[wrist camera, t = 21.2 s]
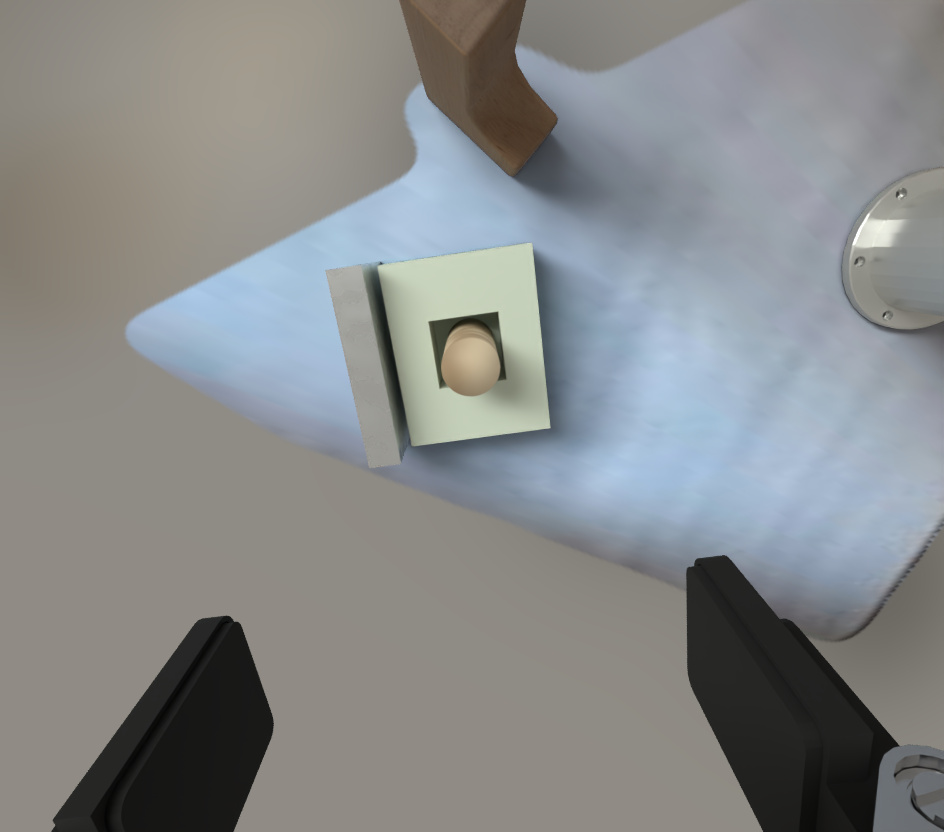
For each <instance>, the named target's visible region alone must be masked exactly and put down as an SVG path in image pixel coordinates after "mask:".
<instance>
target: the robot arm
mask: <svg viewBox="0 0 944 832" xmlns="http://www.w3.org/2000/svg"><path fill="white" fill-rule="evenodd" d="M842 275H843V283H844V287H845V290H846V294H847V296H848V298H849V300H850V301H851V303H852V305H853V306H854V307H855V309H856V310H857V311H858V312H859V313H860V314H861V315H862V316H864V317H865V318H867V319H868V320H870V321H871V322H874V323H876V324H879V325H881V326H885V327H890V328H895V329H908V330H912V329H919V328H926V327H929V326H932V325H935V324H938V323H941V322H943V321H944V167H939V168H933V169H928V170H922V171H920V172H917V173H914V174H911V175H908V176H906V177H904V178H902V179H900V180H898V181H897V182H895V183H893V184H891V185H890V186H889V187H888V188H886V189H885V190H884V191H882V192H881V193H880V194H878V195H877V196H876V197H875V199H874V200H873V201H872V202H871V203H870V204H869V205H868V206H867V207H866V208H865V210H864V211H863V212H862V214H861V215H860V217H859V218H858V220H857V221H856V223H855V225H854V227H853V229H852V231H851V233H850V235H849V237H848V240H847V243H846V247H845V250H844V255H843V263H842ZM686 579H687V665H688V666H687V667H688V668H687V669H688V676H689V681H690V684H691V687H692V689H693V692H694V694H695V696H696V698H697V700H698V702H699V704H700V706H701V708H702V710H703V712H704V714H705V716H706V718H707V720H708V722H709V724H710V726H711V728H712V730H713V732H714V734H715V736H716V738H717V740H718V742H719V744H720V746H721V748H722V750H723V752H724V754H725V756H726V758H727V760H728V762H729V764H730V766H731V768H732V770H733V772H734V774H735V776H736V778H737V780H738V782H739V784H740V786H741V788H742V790H743V792H744V794H745V796H746V798H747V800H748V802H749V804H750V806H751V808H752V810H753V812H754V814H755V816H756V818H757V820H758V822H759V824H760V826H761V828H762V830H763V832H944V751H942V750H938V749H935V748H932V747H929V746H920V745H904V746H899V745H898V743H897V742H896V741H895V740H894V739H893V738H892V736H891V735H890V734H889V733H888V732H887V731H886V729H885V728H884V727H883V726H882V725H881V724H880V722H879V721H878V720H877V719H876V718H875V717H874V715H873V714H872V713H871V712H870V711H869V710H868V708H867V707H866V706H865V705H864V704H863V703H862V701H861V700H860V699H859V698H858V697H857V696H856V694H855V693H854V692H853V691H852V690H851V689H850V688H849V686H848V685H847V684H846V683H845V682H844V680H843V679H842V678H841V677H840V676H839V675H838V673H837V672H836V671H835V670H834V669H833V668H832V666H831V665H830V664H829V663H828V662H827V661H826V660H825V658H824V657H823V656H822V655H821V654H820V653H819V651H818V650H817V649H816V648H815V646H814V645H813V644H812V643H811V642H810V641H809V639H808V638H807V637H806V636H805V635H804V634H803V632H802V631H801V630H800V629H799V628H798V627H797V626H796V625H795V624H794V623H793V622H792V621H790V620H788V619H779V618H778V617H777V615H776V614H775V613H774V612H773V611H772V609H771V608H770V607H769V606H768V604H767V603H766V602H765V601H764V600H763V598H762V597H761V596H760V595H759V594H758V592H757V591H756V590H755V589H754V588H753V586H752V585H751V584H750V583H749V581H748V580H747V579H746V578H745V577H744V575H743V574H742V573H741V572H740V571H739V569H738V568H737V567H736V566H735V564H734V563H733V562H732V561H731V560H730V559H729V558H728V557H727V556H725V555H722V556H714V557H706V558H698V559H696V560H695V563H694V566H693V567H688V568H687V573H686ZM273 724H274V723H273V717H272V713H271V710H270V707H269V704H268V701H267V698H266V696H265V693H264V690H263V687H262V684H261V681H260V678H259V675H258V672H257V670H256V667H255V664H254V661H253V658H252V655H251V652H250V649H249V646H248V643H247V641H246V638H245V635H244V632H243V629H242V627H241V624H240V623H239V622H234V621H233V619H232V618H231V617H230V616H220V617H211V618H203V619H201V620H198V621H197V622H196V623H195V624H194V626H193V627H192V629H191V630H190V631H189V633H188V634H187V635H186V637H185V638H184V640H183V641H182V642H181V644H180V645H179V646H178V648H177V649H176V651H175V652H174V653H173V655H172V656H171V658H170V659H169V660H168V662H167V663H166V664H165V666H164V667H163V668H162V670H161V671H160V673H159V674H158V675H157V677H156V678H155V680H154V681H153V682H152V684H151V685H150V686H149V688H148V689H147V691H146V692H145V693H144V695H143V696H142V697H141V699H140V700H139V702H138V703H137V704H136V706H135V707H134V708H133V710H132V711H131V713H130V714H129V715H128V717H127V718H126V720H125V721H124V722H123V724H122V725H121V726H120V728H119V729H118V730H117V732H116V733H115V735H114V736H113V737H112V739H111V740H110V742H109V743H108V744H107V746H106V747H105V748H104V750H103V751H102V753H101V754H100V755H99V757H98V758H97V760H96V761H95V762H94V764H93V765H92V766H91V768H90V769H89V770H88V772H87V773H86V775H85V776H84V777H83V779H82V780H81V782H80V783H79V784H78V786H77V787H76V788H75V790H74V791H73V793H72V794H71V795H70V797H69V798H68V799H67V801H66V802H65V804H64V805H63V806H62V808H61V809H60V810H59V812H58V813H57V815H56V816H55V817H54V819H53V822H54V824H55V825H56V826H55V827H54V828H53V830H52V832H233V831H234V829H235V827H236V824H237V822H238V819H239V817H240V814H241V811H242V809H243V807H244V804H245V802H246V799H247V797H248V794H249V792H250V789H251V787H252V784H253V782H254V779H255V777H256V774H257V772H258V770H259V767H260V764H261V762H262V759H263V757H264V755H265V752H266V750H267V747H268V745H269V742H270V740H271V736H272V733H273V726H274V725H273Z"/></svg>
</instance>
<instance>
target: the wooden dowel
mask: <svg viewBox="0 0 944 832" xmlns="http://www.w3.org/2000/svg"><path fill="white" fill-rule="evenodd" d="M441 372H442V376H443V379H444V381H445V383H446V384H447V385H448V387H449V388H450V389H452V390H453V391H454V392H456V393H458V394H460V395H463V396H478V395H481V394H484V393H486V392H487V391H489V390H490V389H491V388H492V387H493V386H494V385H495V383H496V382H497V380H498V377H499V374H500V361H499V357H498V353H497V349H496V345H495V341H494V337H493V334H492V331H491V329H490V328H489V327H488V326H487V325H486V324H485V323H484V322H483V321H481V320H478V319H474V318H466V319H463V320H460V321H458V322H457V323H456V324H455V325H453V327H452V328H451V329H450V331H449V334H448V337H447V342H446V346H445V350H444V354H443V358H442V363H441Z"/></svg>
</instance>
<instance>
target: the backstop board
mask: <svg viewBox="0 0 944 832" xmlns="http://www.w3.org/2000/svg"><path fill="white" fill-rule="evenodd" d="M379 265H381V263H380V262H373V263H366V264H359V265H353V266H347V267H341V268H336V269H330V270H325V271H326V275H327V280H328V284H329V289H330V293H331V298H332V302H333V307H334V311H335V316H336V320H337V325H338V329H339V334H340V338H341V342H342V347H343V351H344V356H345V360H346V365H347V369H348V374H349V378H350V383H351V387H352V392H353V396H354V401H355V405H356V410H357V414H358V419H359V423H360V428H361V432H362V437H363V441H364V446H365V450H366V455H367V459H368V464H369V468H374V467H382V466H390V465H397V464H401V463H402V459H403V456H404V453H405V450H406V447H407V443H408V440H409V437H410V434H409V429H408V424H407V419H406V413H405V408H404V403H403V398H402V392H401V387H400V382H399V377H398V372H397V366H396V361H395V356H394V351H393V345H392V340H391V335H390V330H389V325H388V319H387V314H386V309H385V304H384V299H383V293H382V288H381V283H380V278H379V272H378V267H377V266H379Z"/></svg>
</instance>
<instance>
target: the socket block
mask: <svg viewBox="0 0 944 832" xmlns="http://www.w3.org/2000/svg"><path fill="white" fill-rule="evenodd" d="M377 267H378V272H379V278H380V283H381V288H382V293H383V299H384V304H385V309H386V314H387V319H388V325H389V330H390V335H391V340H392V345H393V351H394V356H395V361H396V366H397V372H398V377H399V382H400V387H401V392H402V398H403V403H404V408H405V413H406V419H407V424H408V429H409V434H410V439H411V445H412V447H413V446H420V445H428V444H435V443H443V442H450V441H458V440H465V439H473V438H480V437H487V436H495V435H502V434H510V433H517V432H525V431H532V430H540V429H547V428H550V419H549V409H548V399H547V389H546V379H545V368H544V358H543V348H542V338H541V328H540V318H539V308H538V298H537V288H536V277H535V267H534V257H533V247H532V243H523V244H516V245H509V246H502V247H496V248H489V249H482V250H475V251H469V252H462V253H455V254H448V255H442V256H435V257H428V258H422V259H415V260H408V261H401V262H395V263H388V264H383V265H379V266H377ZM466 318H474V319H478V320H481V321H483V322H484V323H485V324H486V325H487V326H488V327H489V328H490V329H491V331H492V334H493V337H494V341H495V345H496V349H497V353H498V357H499V361H500V374H499V377H498V380H497V382H496V383H495V385H494V386H493V387H492V388H491V389H490V390H489V391H487V392H486V393H484V394H481V395H478V396H463V395H460V394H458V393H456V392H454V391H453V390H452V389H450V388H449V387H448V385H447V384H446V383H445V381H444V379H443V376H442V372H441V363H442V358H443V354H444V350H445V346H446V342H447V337H448V334H449V331H450V329H451V328H452V327H453V325H455V324H456V323H457V322H458V321H460V320H463V319H466Z"/></svg>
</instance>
